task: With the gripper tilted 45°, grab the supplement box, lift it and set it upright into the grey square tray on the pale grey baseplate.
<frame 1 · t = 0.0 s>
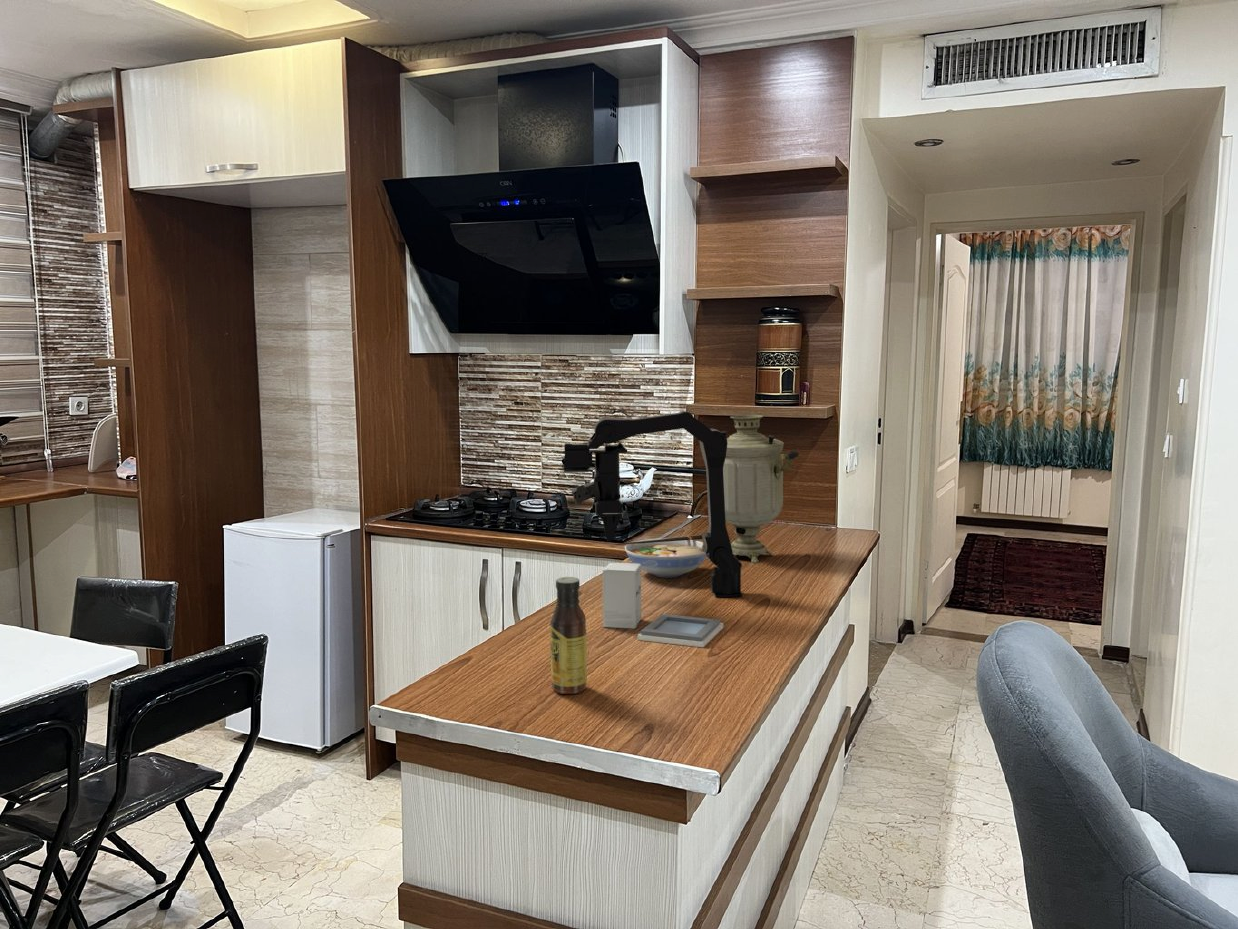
hand: (608, 537, 220), 15 cm above the table, tool pointing down, fingers open, 9 cm apart
samovar: (755, 556, 264), on the table
sauce bottle: (569, 691, 162), on the table
grey square tray: (681, 633, 193), on the table
supplement box: (622, 624, 201), on the table
ramen bowl: (667, 575, 244), on the table
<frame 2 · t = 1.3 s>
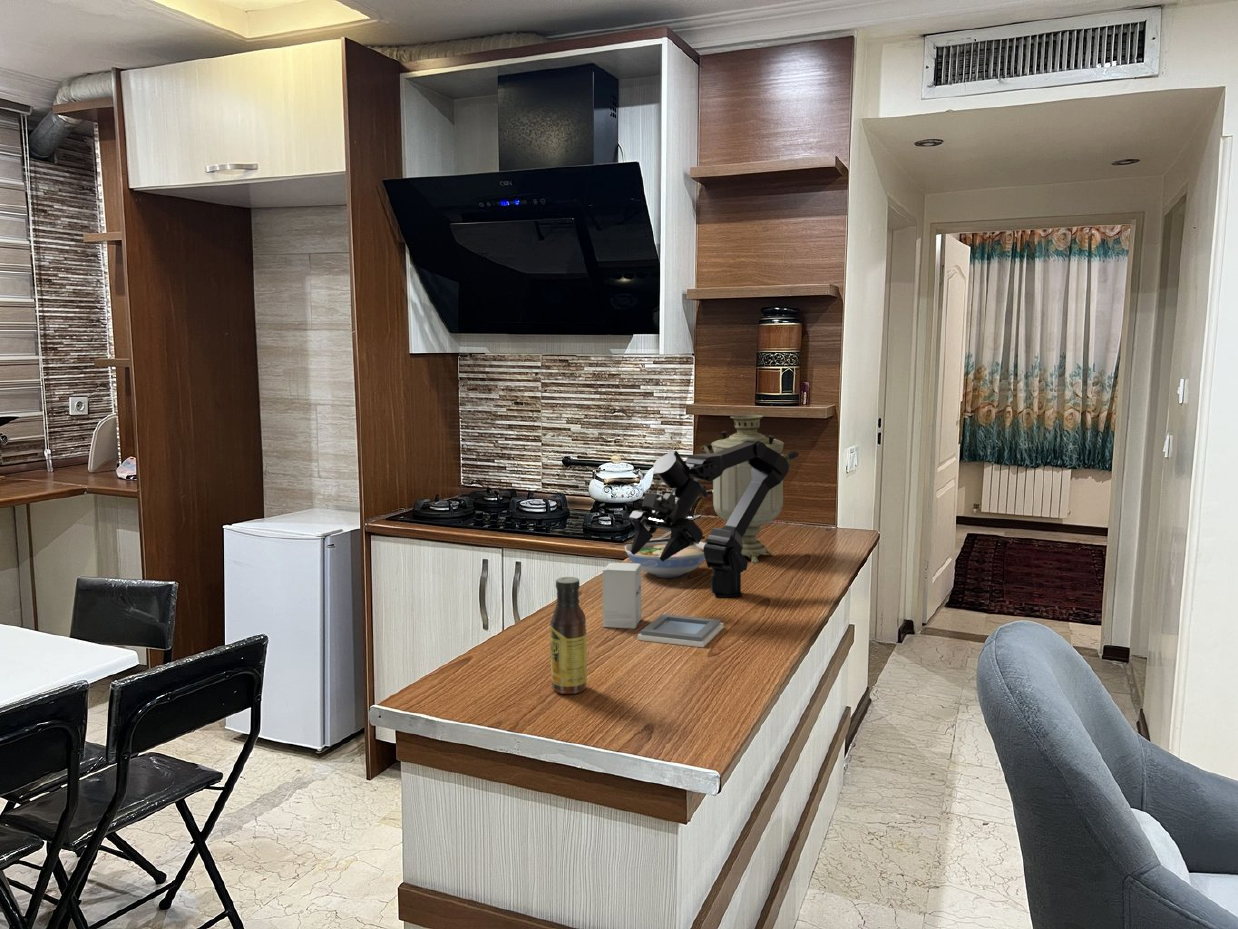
hand: (646, 556, 204), 13 cm above the table, tool tilted 45°, fingers open, 9 cm apart
nothing on the table moved.
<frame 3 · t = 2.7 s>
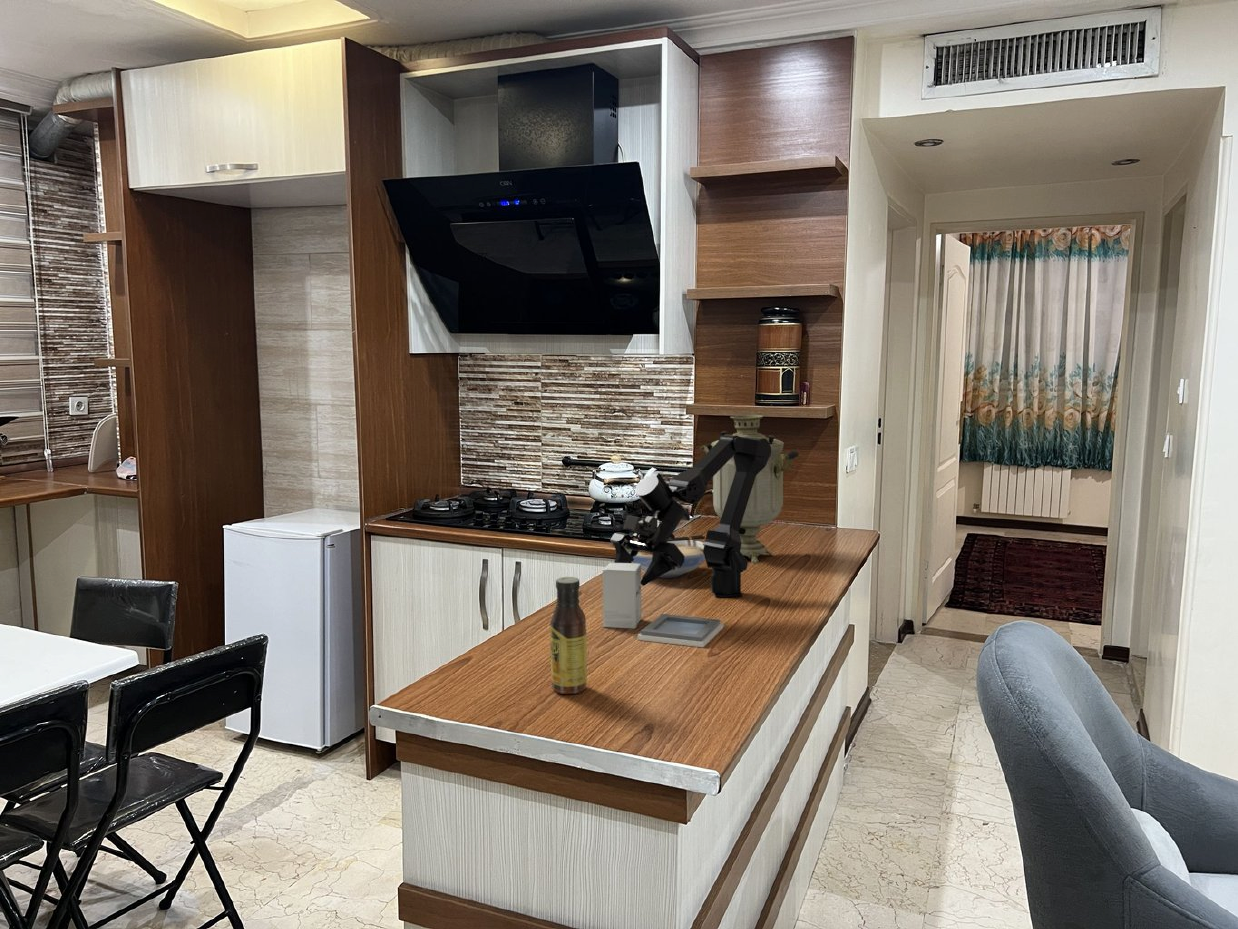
hand: (627, 580, 201), 9 cm above the table, tool tilted 45°, fingers open, 9 cm apart
supplement box: (622, 624, 201), on the table, touching gripper
everything else where it was.
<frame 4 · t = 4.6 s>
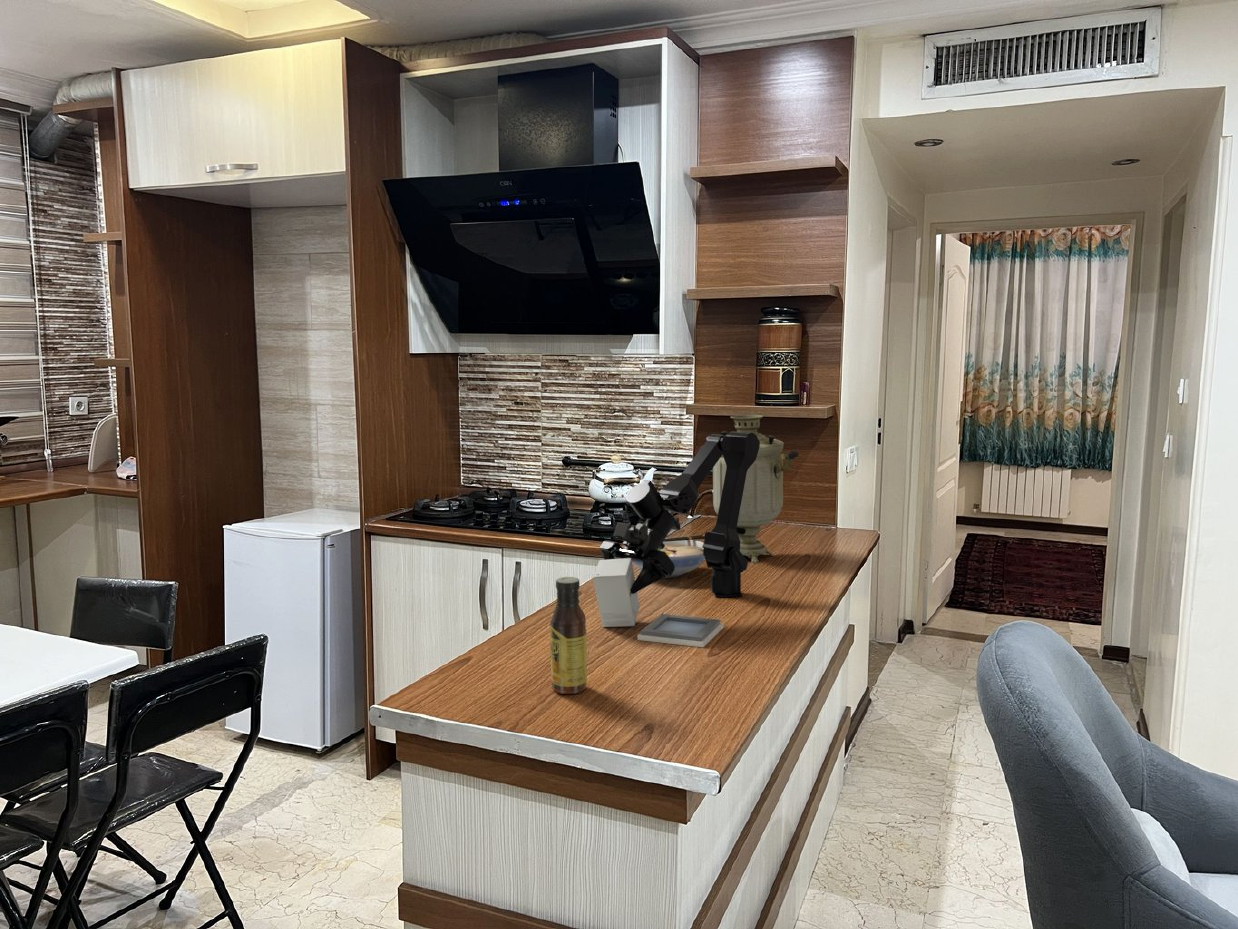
hand: (616, 588, 198), 8 cm above the table, tool tilted 50°, fingers closed on supplement box, 9 cm apart
supplement box: (621, 618, 200), point 1 cm above the table, touching gripper
everything else where it was.
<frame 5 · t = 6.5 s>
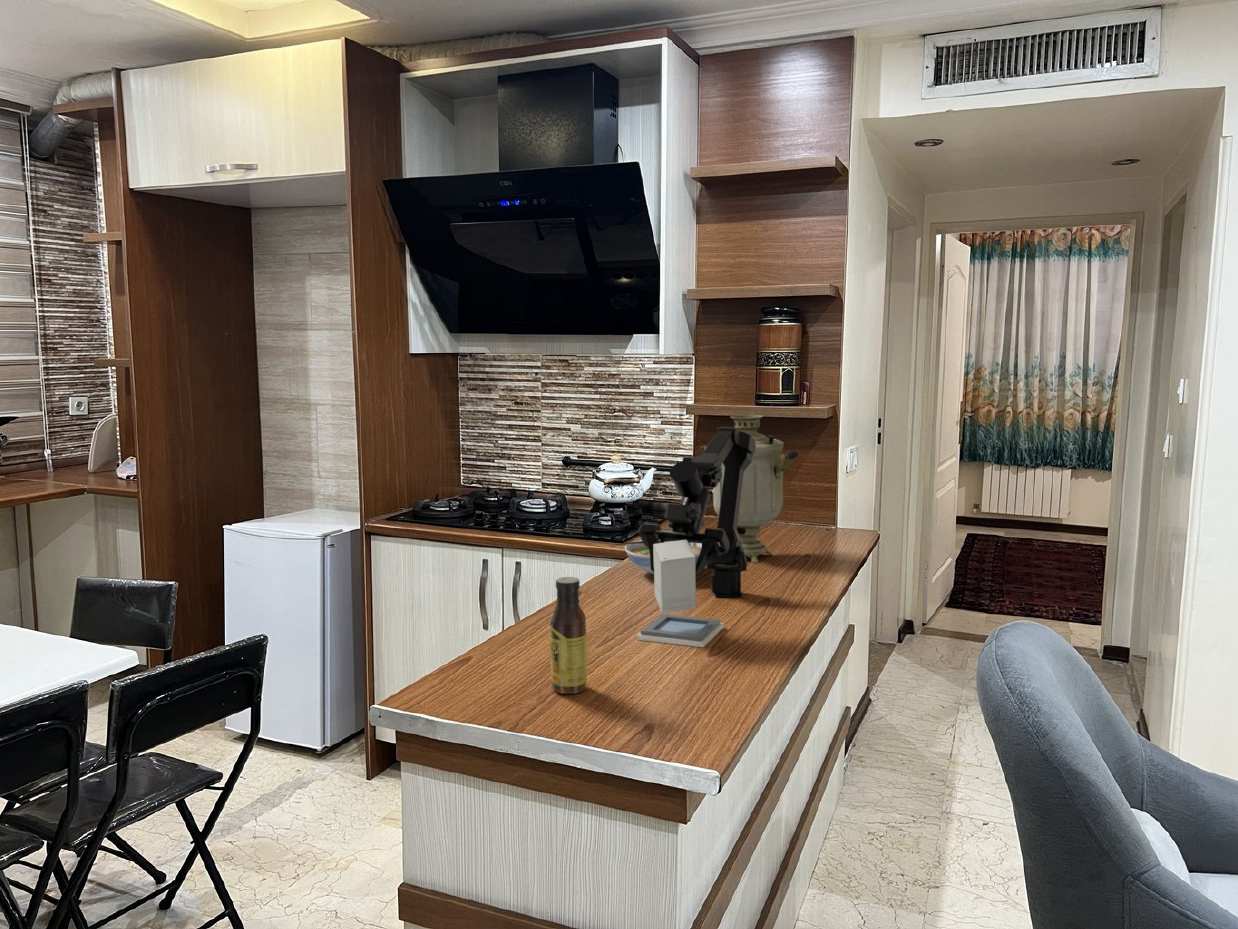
hand: (673, 572, 191), 13 cm above the table, tool tilted 45°, fingers closed on supplement box, 9 cm apart
supplement box: (674, 602, 193), point 6 cm above the table, touching gripper
everything else where it was.
when the fingers open (9 cm above the table, at t = 9.4 s): supplement box stays where it is, resting on grey square tray.
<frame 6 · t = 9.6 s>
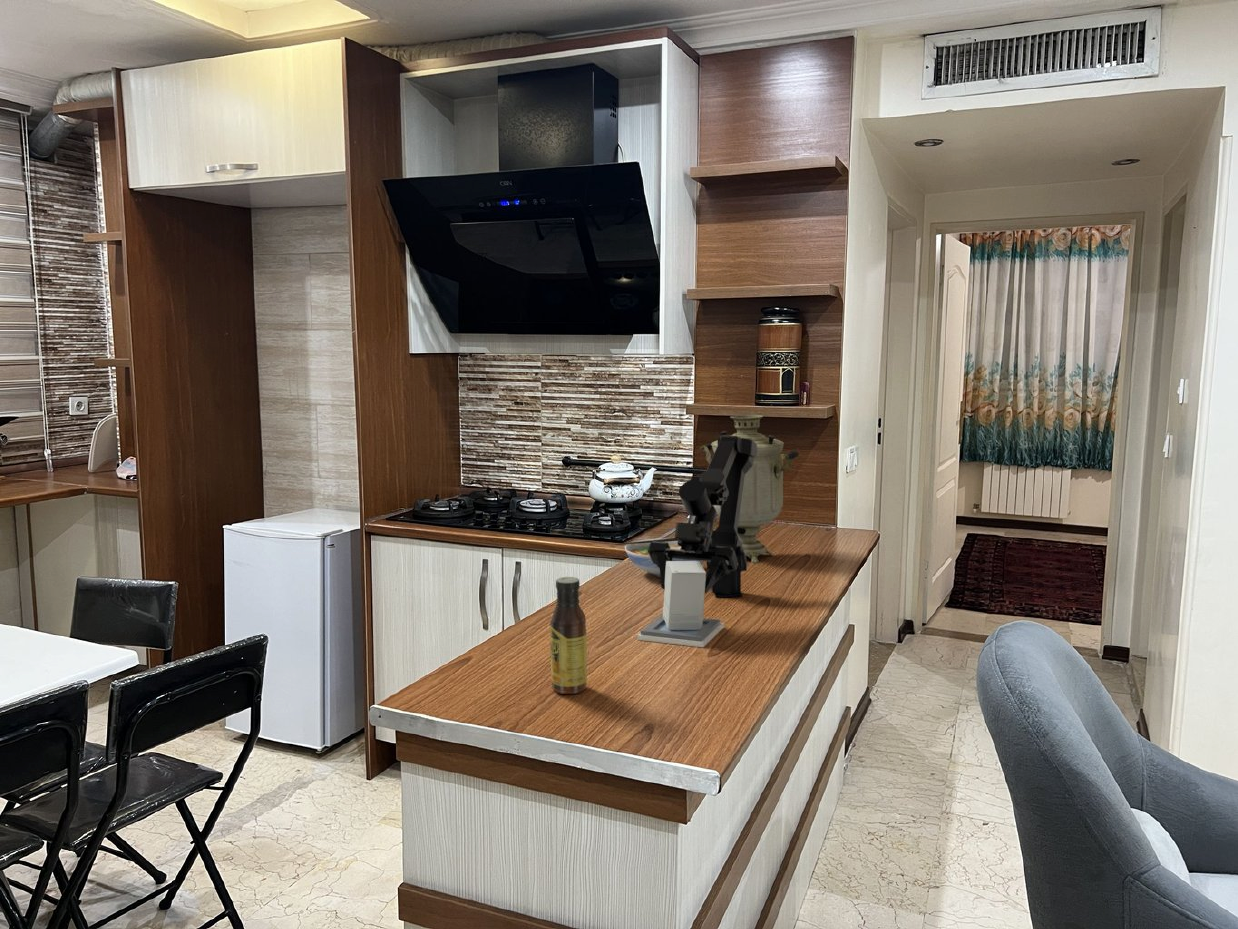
hand: (683, 590, 193), 9 cm above the table, tool tilted 45°, fingers open, 9 cm apart
supplement box: (682, 624, 194), point 2 cm above the table, touching grey square tray, gripper
everything else where it was.
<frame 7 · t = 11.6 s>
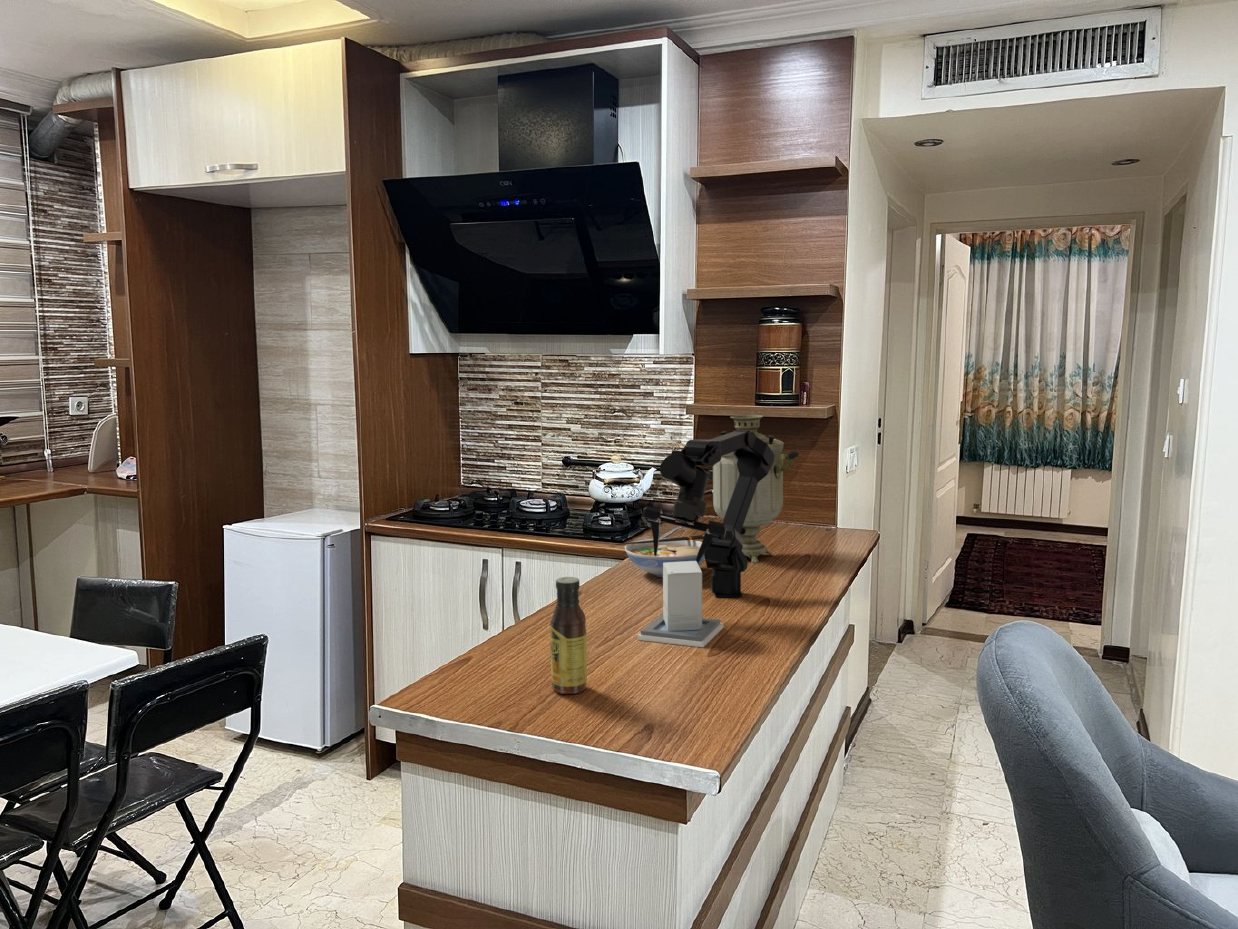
hand: (675, 560, 205), 12 cm above the table, tool tilted 25°, fingers open, 9 cm apart
supplement box: (682, 624, 194), point 1 cm above the table, touching grey square tray
everything else where it was.
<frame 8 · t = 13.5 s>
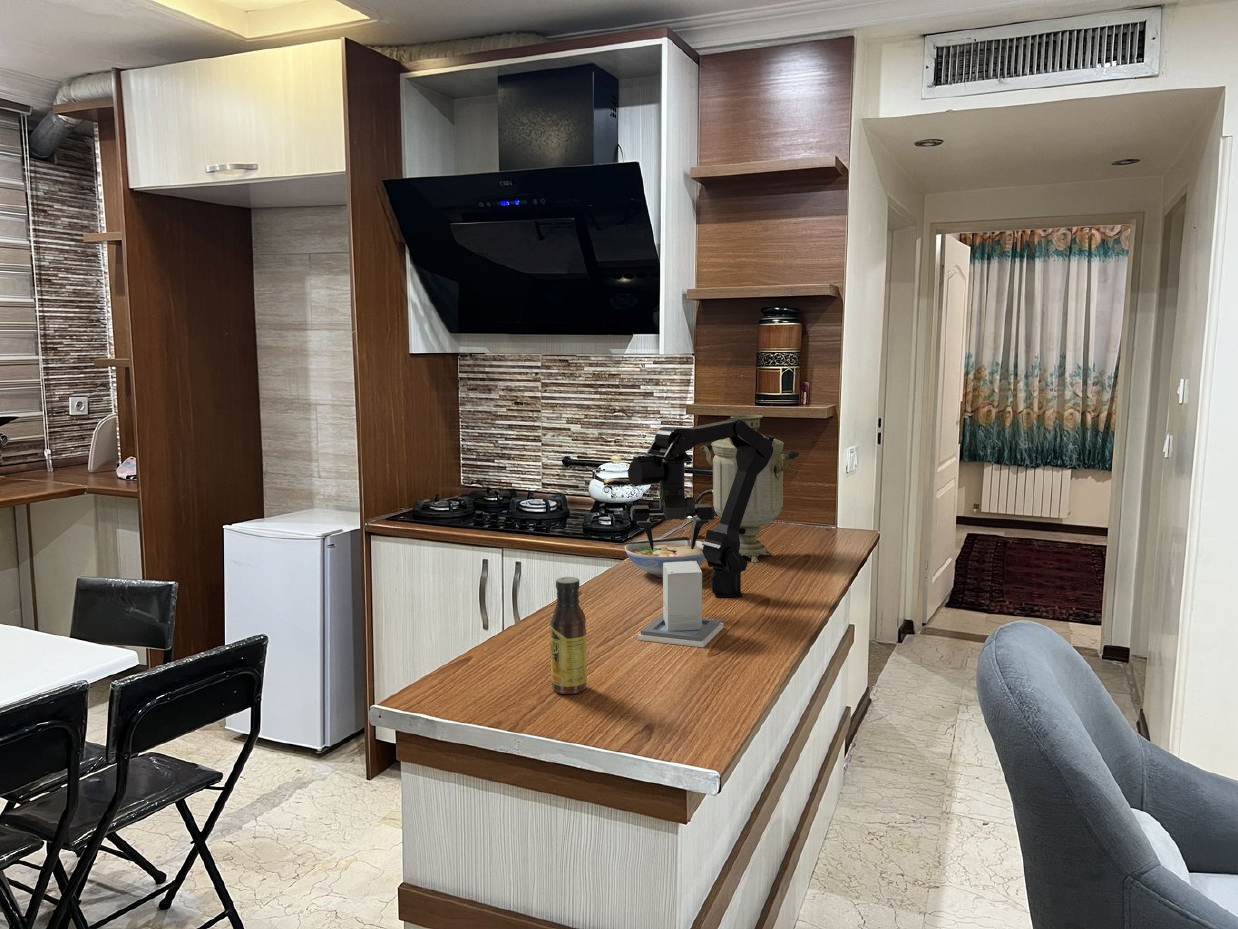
hand: (672, 549, 213), 13 cm above the table, tool pointing down, fingers open, 9 cm apart
nothing on the table moved.
at the end: supplement box 1.9 cm off-centre on the grey square tray, point 1.4 cm above the grey square tray's base; supplement box tilted 7°; the gripper is holding nothing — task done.
